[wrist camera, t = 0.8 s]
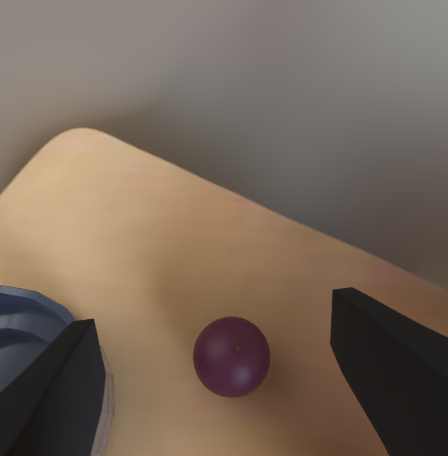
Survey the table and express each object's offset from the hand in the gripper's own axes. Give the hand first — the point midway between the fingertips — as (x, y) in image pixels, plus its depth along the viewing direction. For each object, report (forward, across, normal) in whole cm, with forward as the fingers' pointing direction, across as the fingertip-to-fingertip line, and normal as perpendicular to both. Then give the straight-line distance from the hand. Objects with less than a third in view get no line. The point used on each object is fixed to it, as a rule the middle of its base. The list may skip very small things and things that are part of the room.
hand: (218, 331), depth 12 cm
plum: (+12, -1, +11) cm, 16 cm away
